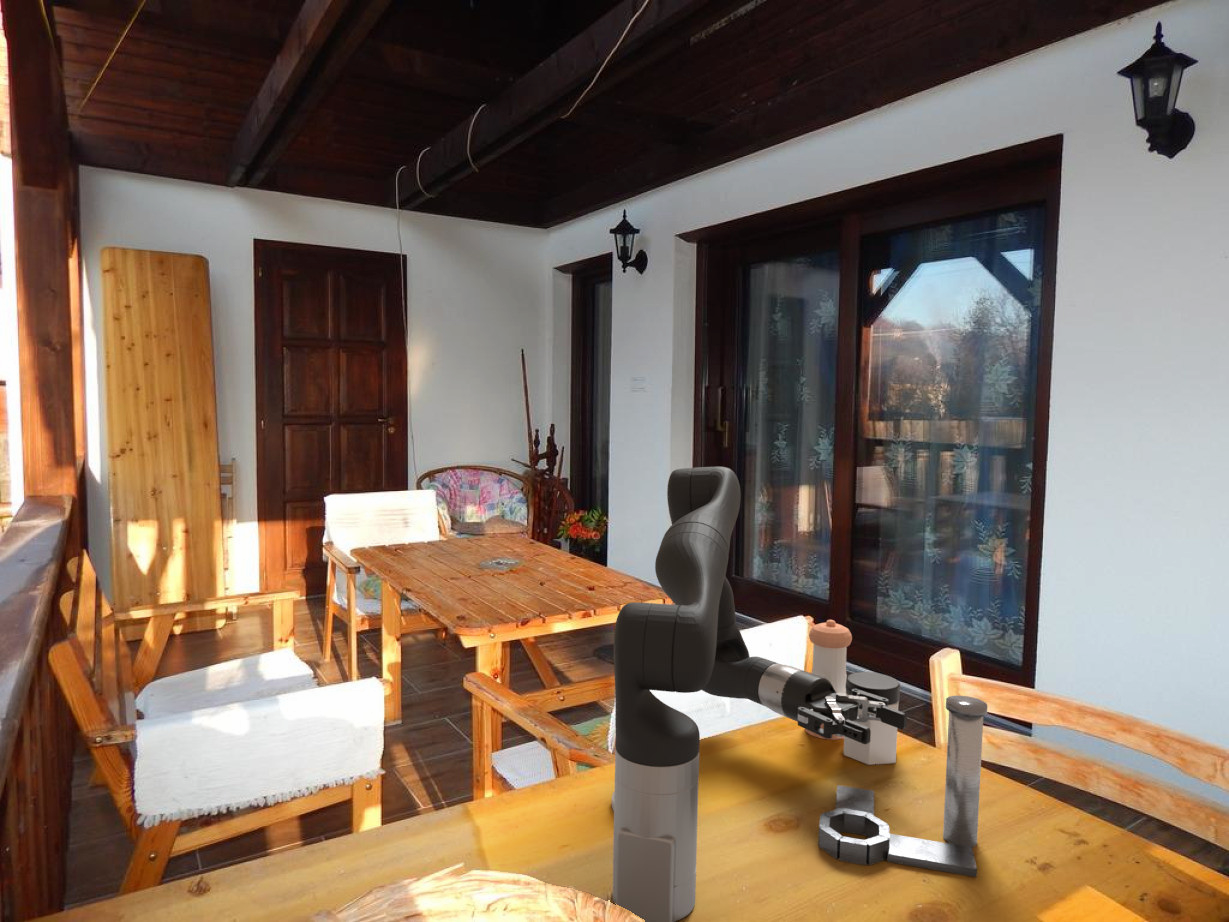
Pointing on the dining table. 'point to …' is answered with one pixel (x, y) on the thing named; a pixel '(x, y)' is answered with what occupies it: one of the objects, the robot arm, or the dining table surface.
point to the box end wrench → (884, 838)
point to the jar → (881, 733)
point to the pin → (963, 769)
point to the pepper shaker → (830, 657)
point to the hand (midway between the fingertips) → (887, 729)
